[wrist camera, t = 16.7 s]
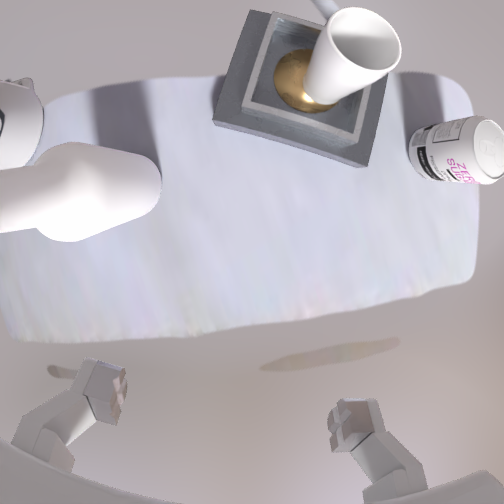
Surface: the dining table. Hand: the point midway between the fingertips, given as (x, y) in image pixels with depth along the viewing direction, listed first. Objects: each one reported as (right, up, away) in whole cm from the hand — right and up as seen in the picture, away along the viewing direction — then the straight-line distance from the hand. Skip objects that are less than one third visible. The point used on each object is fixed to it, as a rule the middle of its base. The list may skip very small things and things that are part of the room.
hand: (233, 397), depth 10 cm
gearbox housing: (+8, +27, +27) cm, 39 cm away
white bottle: (-16, +14, +29) cm, 36 cm away
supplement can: (+27, +20, +29) cm, 45 cm away
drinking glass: (+9, +26, +23) cm, 36 cm away
